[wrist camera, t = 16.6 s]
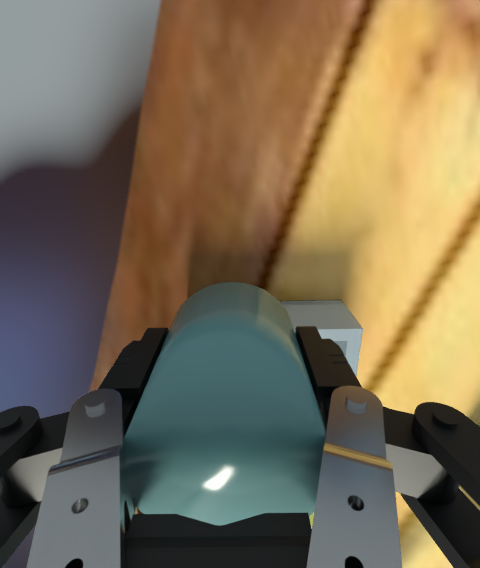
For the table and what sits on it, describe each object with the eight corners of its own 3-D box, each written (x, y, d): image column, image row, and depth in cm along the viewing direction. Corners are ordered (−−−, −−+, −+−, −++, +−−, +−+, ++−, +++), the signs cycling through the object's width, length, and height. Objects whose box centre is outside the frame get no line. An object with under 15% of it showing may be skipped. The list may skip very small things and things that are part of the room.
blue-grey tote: (341, 299, 33) (362, 328, 27) (330, 406, 38) (346, 449, 32) (187, 302, 33) (176, 332, 27) (196, 408, 38) (189, 452, 32)
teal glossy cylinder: (296, 280, 12) (345, 384, 6) (291, 387, 14) (325, 540, 8) (165, 283, 12) (100, 388, 6) (177, 389, 14) (135, 543, 8)
